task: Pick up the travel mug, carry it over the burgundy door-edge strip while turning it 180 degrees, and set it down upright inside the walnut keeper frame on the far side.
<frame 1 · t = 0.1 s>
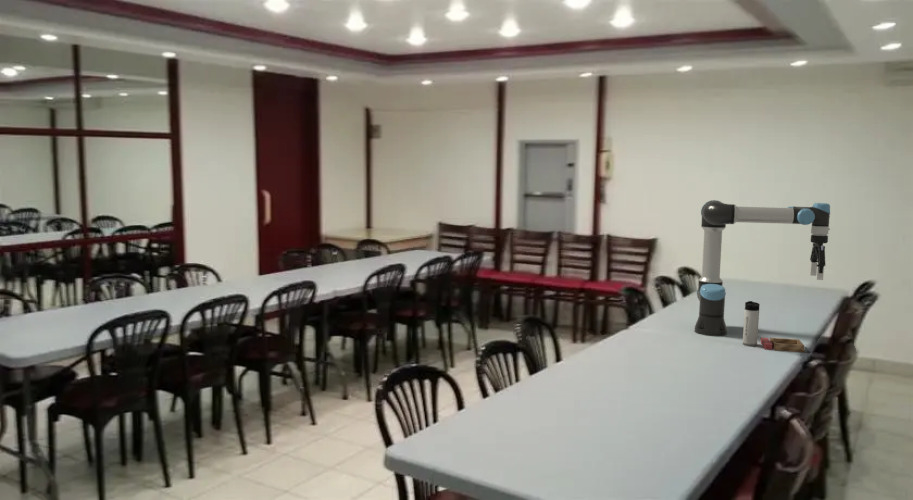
hand: (816, 277, 350), 28 cm above the table, fingers open, 13 cm apart
travel mug: (749, 345, 330), on the table
keeper: (786, 347, 325), on the table
door edge strip: (766, 346, 328), on the table
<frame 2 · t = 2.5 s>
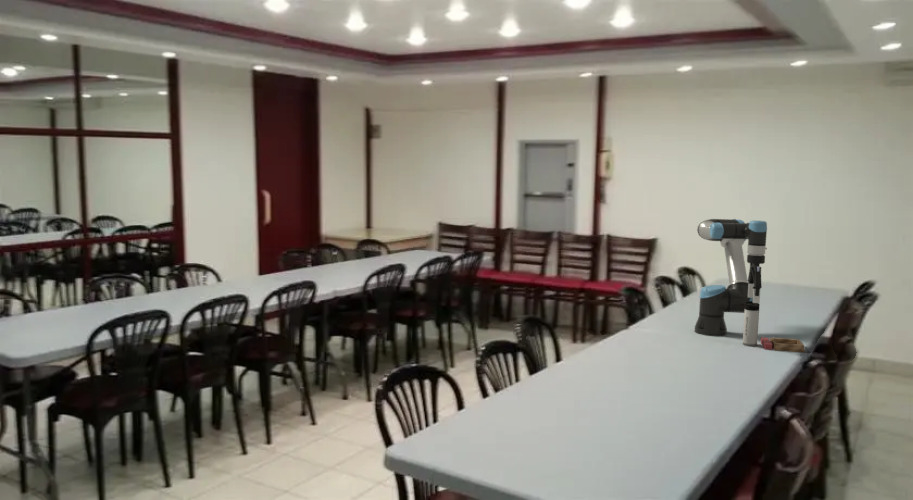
hand: (753, 300, 328), 21 cm above the table, fingers open, 13 cm apart
nothing on the table moved.
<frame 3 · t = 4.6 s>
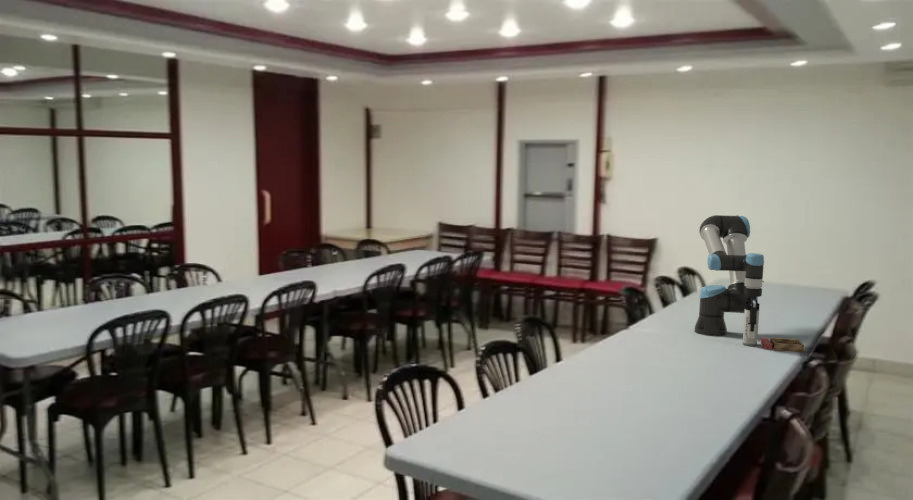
hand: (750, 336, 330), 4 cm above the table, fingers closed on travel mug, 6 cm apart
travel mug: (749, 345, 330), on the table, touching gripper
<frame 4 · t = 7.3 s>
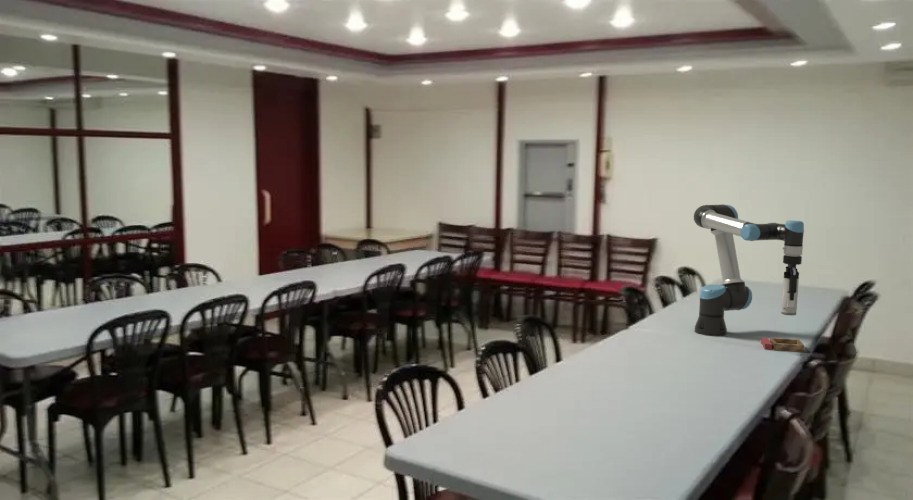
hand: (789, 305, 322), 20 cm above the table, fingers closed on travel mug, 6 cm apart
travel mug: (788, 314, 323), point 16 cm above the table, touching gripper
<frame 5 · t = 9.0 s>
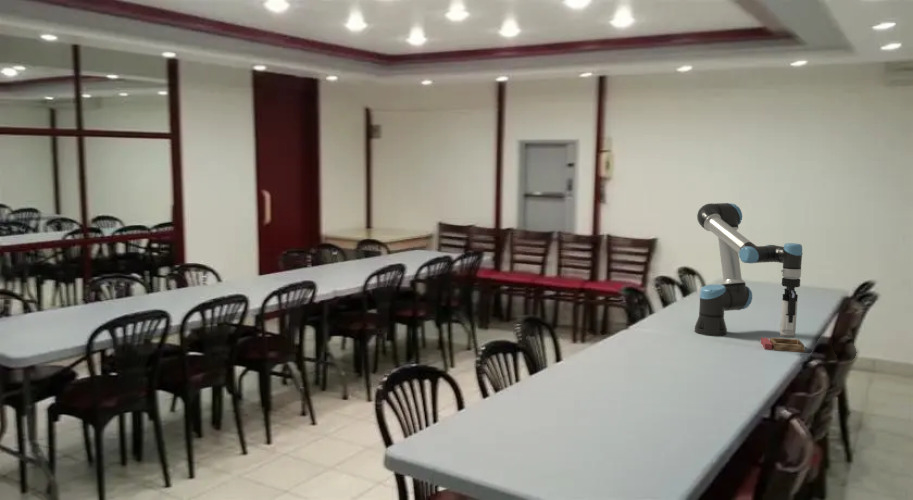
hand: (788, 327, 324), 9 cm above the table, fingers closed on travel mug, 6 cm apart
travel mug: (787, 336, 324), point 5 cm above the table, touching gripper
when the fingers open (6 cm above the table, at t = 10.1 s): travel mug drops 1 cm, resting on keeper.
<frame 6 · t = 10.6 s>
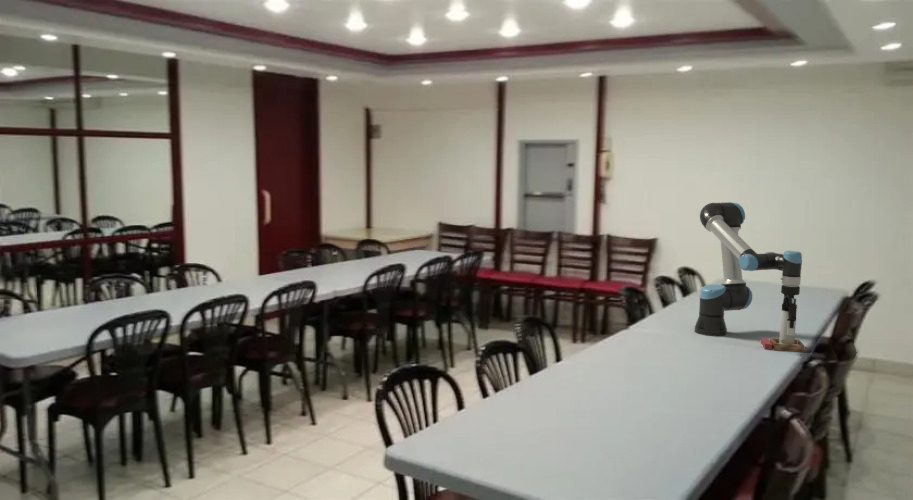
hand: (787, 331, 324), 8 cm above the table, fingers open, 13 cm apart
travel mug: (786, 346, 325), point 1 cm above the table, touching keeper
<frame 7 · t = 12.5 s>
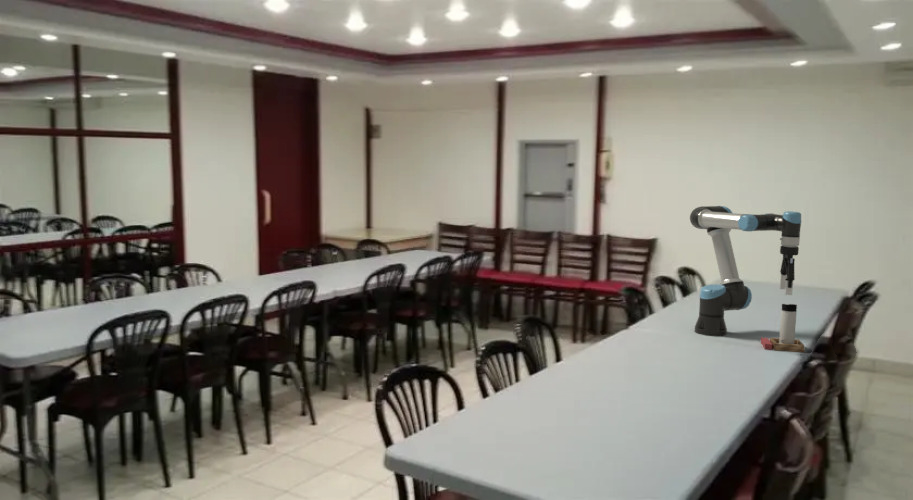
hand: (785, 291, 325), 25 cm above the table, fingers open, 13 cm apart
nothing on the table moved.
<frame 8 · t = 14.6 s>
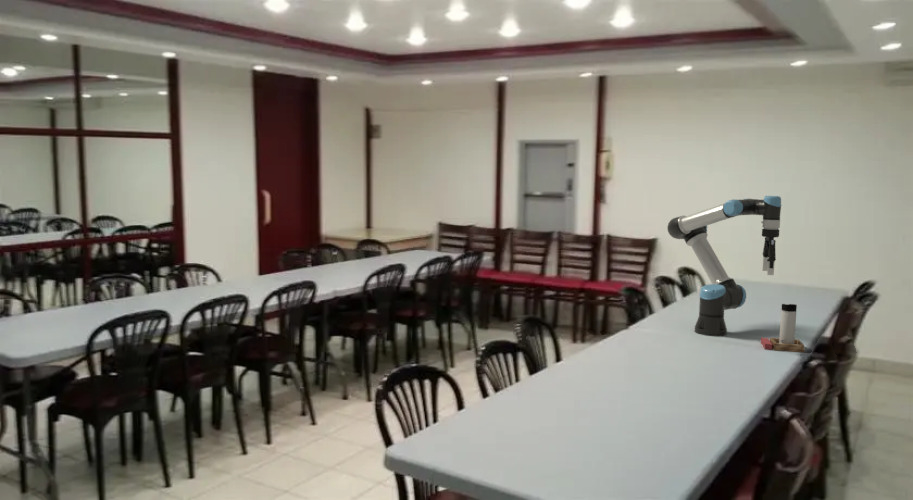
hand: (767, 272, 340), 32 cm above the table, fingers open, 13 cm apart
nothing on the table moved.
at the end: travel mug 0.1 cm off-centre on the keeper, point 0.6 cm above the keeper's base; travel mug tilted 0°; the gripper is holding nothing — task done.
